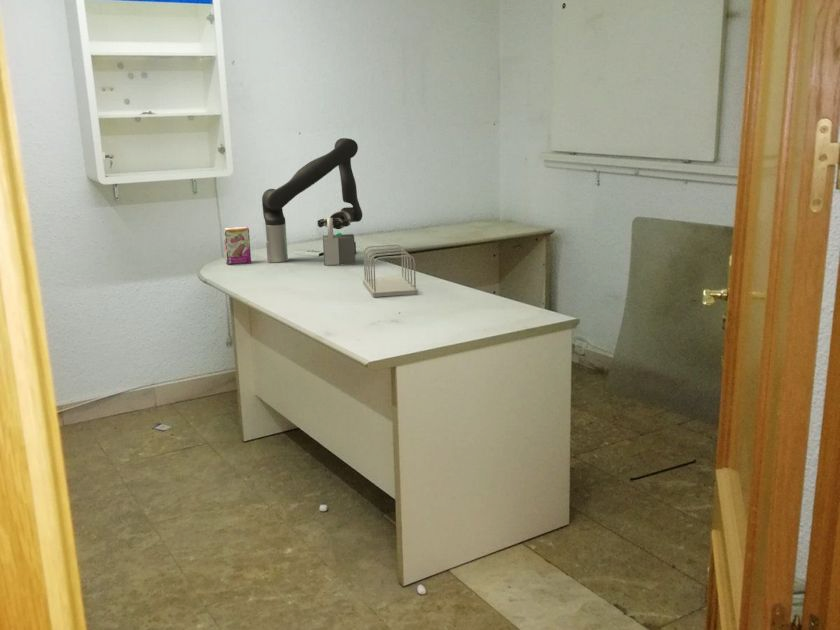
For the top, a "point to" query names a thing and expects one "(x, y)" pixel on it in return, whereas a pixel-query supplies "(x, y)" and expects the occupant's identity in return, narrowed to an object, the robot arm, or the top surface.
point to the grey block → (345, 248)
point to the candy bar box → (237, 245)
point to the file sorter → (389, 284)
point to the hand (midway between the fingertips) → (328, 225)
